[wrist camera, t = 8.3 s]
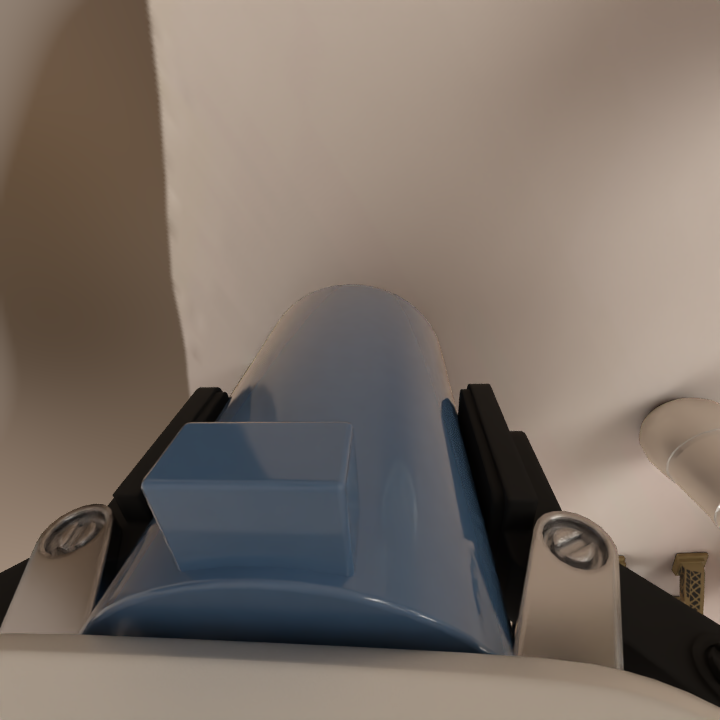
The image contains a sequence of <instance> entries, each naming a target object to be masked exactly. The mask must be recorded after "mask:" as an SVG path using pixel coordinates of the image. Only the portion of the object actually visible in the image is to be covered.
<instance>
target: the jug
mask: <svg viewBox="0 0 720 720" xmlns="http://www.w3.org/2000/svg"><path fill="white" fill-rule="evenodd" d="M141 490H142V492H143V494H144V496H145V498H146V500H147V503H148V505H149V507H150V509H151V511H152V513H153V518H152V519H151V521H150V522H149V524H148V525H147V527H146V529H145V530H144V532H143V533H142V535H141V536H140V538H139V539H138V541H137V543H136V544H135V546H134V547H133V549H132V550H131V552H130V553H129V555H128V557H127V558H126V560H125V561H124V563H123V564H122V566H121V567H120V569H119V571H118V572H117V574H116V575H115V577H114V578H113V580H112V581H111V583H110V585H109V586H108V588H107V589H106V591H105V592H104V594H103V596H102V597H101V599H100V600H99V602H98V603H97V605H96V606H95V608H94V610H93V611H92V613H91V614H90V616H89V617H88V619H87V620H86V622H85V624H84V625H83V627H82V628H81V630H80V631H79V634H78V635H104V636H128V637H152V638H177V639H200V640H222V641H244V642H265V643H286V644H307V645H328V646H348V647H367V648H386V649H405V650H424V651H443V652H462V653H476V654H490V655H504V656H514V654H513V648H514V634H513V631H512V627H511V623H510V619H509V615H508V611H507V607H506V603H505V599H504V595H503V591H502V587H501V583H500V579H499V575H498V571H497V568H496V564H495V560H494V556H493V552H492V548H491V544H490V540H489V536H488V532H487V528H486V524H485V520H484V516H483V512H482V508H481V505H480V501H479V497H478V493H477V489H476V485H475V481H474V477H473V473H472V469H471V465H470V461H469V457H468V453H467V449H466V445H465V442H464V438H463V434H462V430H461V426H460V422H459V418H458V414H457V410H456V406H455V402H454V398H453V394H452V390H451V386H450V382H449V379H448V375H447V371H446V367H445V363H444V359H443V355H442V351H441V347H440V344H439V341H438V338H437V336H436V334H435V332H434V330H433V328H432V326H431V325H430V324H429V322H428V321H427V319H426V318H425V317H424V316H423V315H422V314H421V313H420V312H419V311H418V310H417V309H416V308H415V307H414V306H412V305H411V304H410V303H409V302H407V301H406V300H404V299H402V298H401V297H399V296H397V295H395V294H393V293H391V292H388V291H386V290H383V289H379V288H376V287H371V286H365V285H350V284H347V285H337V286H332V287H328V288H323V289H321V290H318V291H315V292H313V293H311V294H309V295H307V296H305V297H303V298H302V299H300V300H299V301H298V302H296V303H295V304H294V305H292V306H291V307H290V308H289V309H288V310H287V311H286V312H285V313H284V315H283V316H282V317H281V319H280V320H279V321H278V323H277V325H276V326H275V328H274V329H273V331H272V332H271V334H270V335H269V337H268V339H267V340H266V342H265V343H264V345H263V346H262V348H261V349H260V351H259V353H258V354H257V356H256V357H255V359H254V360H253V362H252V363H251V365H250V367H249V368H248V370H247V371H246V373H245V374H244V376H243V377H242V379H241V381H240V382H239V384H238V385H237V387H236V388H235V390H234V391H233V393H232V395H231V396H230V398H229V399H228V401H227V402H226V404H225V405H224V407H223V409H222V410H221V412H220V413H219V415H218V416H217V418H216V420H215V421H214V422H190V423H187V424H185V425H183V426H182V428H181V429H180V430H179V432H178V433H177V434H176V436H175V437H174V438H173V440H172V441H171V443H170V444H169V445H168V447H167V448H166V449H165V451H164V452H163V453H162V455H161V456H160V457H159V459H158V460H157V461H156V463H155V464H154V465H153V467H152V468H151V469H150V471H149V472H148V473H147V475H146V476H145V477H144V479H143V481H142V484H141Z"/></svg>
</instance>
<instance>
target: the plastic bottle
mask: <svg viewBox="0 0 720 720" xmlns="http://www.w3.org/2000/svg"><path fill="white" fill-rule="evenodd" d="M639 441H640V445H641V447H642V449H643V451H644V452H645V454H646V456H647V458H648V459H649V461H650V462H651V463H652V464H653V465H654V466H655V467H656V468H657V469H659V470H660V471H661V472H662V473H663V474H664V475H665V476H666V477H668V478H669V479H670V480H672V481H673V482H674V483H676V484H677V485H678V486H679V487H680V488H681V489H682V490H683V491H684V492H685V493H686V494H687V495H688V496H689V497H690V498H691V499H692V500H693V501H694V502H695V503H696V504H697V505H698V506H699V507H700V508H701V509H702V510H703V511H704V512H705V513H706V514H707V515H708V516H709V517H710V518H711V520H712V521H713V522H714V524H715V525H716V526H717V527H718V528H719V529H720V404H719V403H717V402H715V401H712V400H708V399H700V398H681V399H676V400H673V401H670V402H667V403H665V404H663V405H661V406H659V407H657V408H656V409H654V410H653V411H652V412H651V413H649V415H648V416H647V417H646V418H645V419H644V421H643V423H642V425H641V428H640V434H639Z"/></svg>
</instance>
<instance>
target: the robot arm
mask: <svg viewBox="0 0 720 720" xmlns="http://www.w3.org/2000/svg"><path fill="white" fill-rule="evenodd" d="M228 399H229V397H228V394H227V393H226V392H222V390H221V389H220V388H218V387H209V388H198V389H197V390H196V391H195V392H194V394H193V395H192V396H191V397H190V399H189V400H188V401H187V402H186V404H185V405H184V406H183V408H182V409H181V410H180V411H179V412H178V414H177V415H176V416H175V417H174V419H173V420H172V421H171V422H170V424H169V425H168V426H167V427H166V429H165V430H164V431H163V432H162V434H161V435H160V436H159V437H158V439H157V440H156V441H155V442H154V444H153V445H152V446H151V447H150V449H149V450H148V451H147V452H146V454H145V455H144V456H143V458H142V459H141V460H140V461H139V463H138V464H137V465H136V466H135V468H134V469H133V470H132V471H131V473H130V474H129V475H128V476H127V477H126V479H125V480H124V481H123V482H122V484H121V485H120V486H119V487H118V489H117V490H116V491H115V493H114V494H113V497H114V498H113V500H112V501H111V502H110V504H109V505H108V506H106V505H103V504H91V505H86V506H82V507H80V508H77V509H74V510H72V511H70V512H68V513H66V514H65V515H63V516H61V517H60V518H58V519H57V520H56V521H54V522H53V523H52V524H51V525H50V526H49V527H48V528H47V529H46V530H45V531H44V532H43V533H42V534H41V536H40V538H39V539H38V541H37V542H36V545H35V547H34V550H33V552H32V554H31V556H30V558H28V559H26V560H24V561H23V562H21V563H19V564H17V565H15V566H13V567H11V568H9V569H7V570H5V571H3V572H1V573H0V720H720V625H719V624H717V623H716V622H714V621H712V620H711V619H709V618H707V617H706V616H704V615H703V614H701V613H699V612H698V611H696V610H695V609H693V608H691V607H690V606H688V605H686V604H685V603H683V602H682V601H680V600H678V599H677V598H675V597H673V596H672V595H670V594H669V593H667V592H665V591H664V590H662V589H660V588H659V587H657V586H656V585H654V584H652V583H651V582H649V581H647V580H646V579H644V578H643V577H641V576H639V575H638V574H636V573H635V572H633V571H631V570H630V569H628V568H626V567H625V566H623V565H622V564H620V563H619V556H618V552H617V548H616V545H615V544H614V542H613V541H612V539H611V537H610V536H609V535H608V534H607V533H606V532H605V531H604V530H603V529H602V528H601V527H600V526H599V525H597V524H596V523H594V522H593V521H591V520H590V519H588V518H586V517H583V516H581V515H579V514H576V513H571V512H567V511H562V510H561V508H560V506H559V504H558V502H557V499H556V497H555V495H554V493H553V491H552V489H551V487H550V485H549V483H548V480H547V478H546V476H545V474H544V472H543V470H542V468H541V466H540V463H539V461H538V459H537V457H536V455H535V453H534V451H533V449H532V447H531V444H530V442H529V440H528V438H527V436H526V435H525V433H524V432H522V431H509V428H508V426H507V424H506V421H505V419H504V417H503V414H502V412H501V409H500V407H499V405H498V402H497V400H496V398H495V395H494V393H493V390H492V388H491V386H490V384H468V386H467V389H461V390H460V397H459V410H458V418H459V422H460V426H461V430H462V434H463V438H464V442H465V445H466V449H467V453H468V457H469V461H470V465H471V469H472V473H473V477H474V481H475V485H476V489H477V493H478V497H479V501H480V505H481V508H482V512H483V516H484V520H485V524H486V528H487V532H488V536H489V540H490V544H491V548H492V552H493V556H494V560H495V564H496V568H497V571H498V575H499V579H500V583H501V587H502V591H503V595H504V599H505V603H506V607H507V611H508V615H509V619H510V620H511V621H512V625H511V627H512V631H513V634H514V648H513V654H514V656H504V655H490V654H476V653H462V652H443V651H424V650H405V649H386V648H367V647H348V646H328V645H307V644H286V643H265V642H244V641H222V640H200V639H177V638H152V637H128V636H104V635H78V634H79V631H80V630H81V628H82V627H83V625H84V624H85V622H86V620H87V619H88V617H89V616H90V614H91V613H92V611H93V610H94V608H95V606H96V605H97V603H98V602H99V600H100V599H101V597H102V596H103V594H104V592H105V591H106V589H107V588H108V586H109V585H110V583H111V581H112V580H113V578H114V577H115V575H116V574H117V572H118V571H119V569H120V567H121V566H122V564H123V563H124V561H125V560H126V558H127V557H128V555H129V553H130V552H131V550H132V549H133V547H134V546H135V544H136V543H137V541H138V539H139V538H140V536H141V535H142V533H143V532H144V530H145V529H146V527H147V525H148V524H149V522H150V521H151V519H152V518H153V513H152V511H151V509H150V507H149V505H148V503H147V500H146V498H145V496H144V494H143V492H142V490H141V484H142V481H143V479H144V477H145V476H146V475H147V473H148V472H149V471H150V469H151V468H152V467H153V465H154V464H155V463H156V461H157V460H158V459H159V457H160V456H161V455H162V453H163V452H164V451H165V449H166V448H167V447H168V445H169V444H170V443H171V441H172V440H173V438H174V437H175V436H176V434H177V433H178V432H179V430H180V429H181V428H182V426H183V425H185V424H187V423H190V422H214V421H215V420H216V418H217V416H218V415H219V413H220V412H221V410H222V409H223V407H224V405H225V404H226V402H227V401H228Z"/></svg>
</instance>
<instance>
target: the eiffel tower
mask: <svg viewBox="0 0 720 720" xmlns="http://www.w3.org/2000/svg"><path fill="white" fill-rule="evenodd" d="M708 556H709V555H708V554H707V553H682V554H677V555H676V558H675V561H674V564H673V567H672V571H673V573H674V574H675V576H680V597H675V598H677V599H678V600H680V601H682V602H683V603H685V604H686V605H688V606H690V607H691V608H693V609H695V610H696V611H698V612H699V613H701V614H703V606H704V583H705V571H704V567H705V564H706V561H707V559H708ZM619 563H620V564H622V565H623V566H625V567H626V563H625V557H624V556H619Z"/></svg>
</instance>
